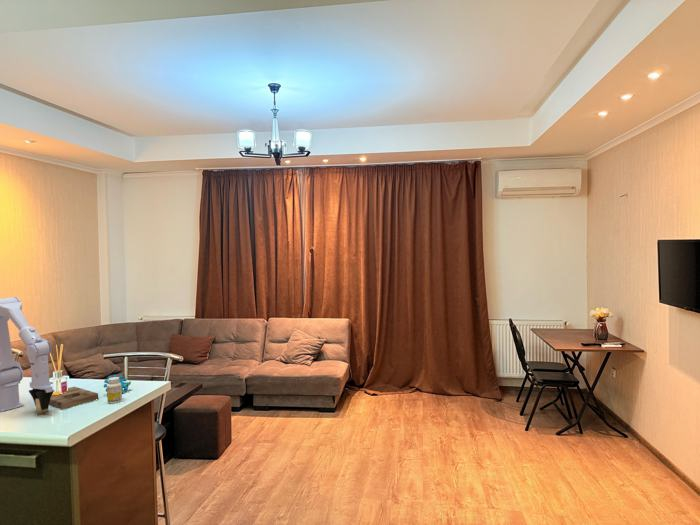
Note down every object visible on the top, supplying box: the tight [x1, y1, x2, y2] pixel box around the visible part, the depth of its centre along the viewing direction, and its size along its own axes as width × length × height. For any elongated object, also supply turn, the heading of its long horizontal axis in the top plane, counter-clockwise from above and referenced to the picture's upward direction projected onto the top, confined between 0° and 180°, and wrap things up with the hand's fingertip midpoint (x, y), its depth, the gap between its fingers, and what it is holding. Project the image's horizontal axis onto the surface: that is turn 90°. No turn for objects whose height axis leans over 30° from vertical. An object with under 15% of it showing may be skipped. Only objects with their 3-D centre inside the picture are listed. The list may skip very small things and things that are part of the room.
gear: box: [103, 374, 132, 395], centre depth 208 cm, size 11×6×10 cm
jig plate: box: [49, 386, 99, 410], centre depth 199 cm, size 20×14×2 cm
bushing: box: [35, 397, 49, 416], centre depth 184 cm, size 4×4×6 cm
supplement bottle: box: [106, 376, 123, 404], centre depth 195 cm, size 5×5×10 cm
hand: (42, 408), depth 184 cm, fingers closed on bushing, 4 cm apart
